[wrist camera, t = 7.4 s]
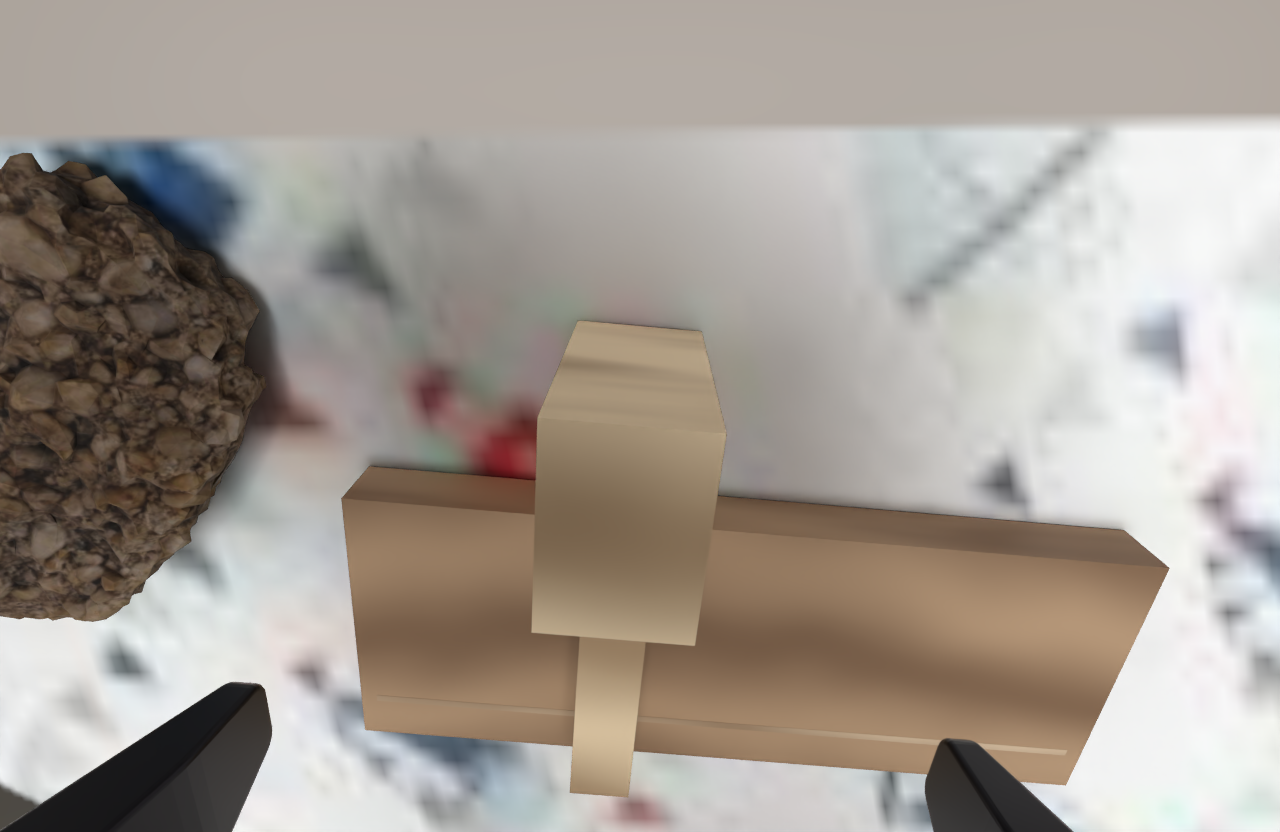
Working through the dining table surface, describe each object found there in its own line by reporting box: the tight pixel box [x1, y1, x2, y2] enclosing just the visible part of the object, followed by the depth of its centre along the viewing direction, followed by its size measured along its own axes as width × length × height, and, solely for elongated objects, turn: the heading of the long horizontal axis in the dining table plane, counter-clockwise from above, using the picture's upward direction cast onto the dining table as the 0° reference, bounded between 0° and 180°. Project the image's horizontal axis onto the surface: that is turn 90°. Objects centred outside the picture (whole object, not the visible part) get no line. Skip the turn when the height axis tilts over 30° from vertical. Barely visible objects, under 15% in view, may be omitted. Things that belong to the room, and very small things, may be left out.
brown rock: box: [0, 153, 266, 622], centre depth 18 cm, size 12×10×5 cm
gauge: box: [531, 321, 727, 797], centre depth 18 cm, size 14×4×7 cm, turn 175°
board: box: [341, 466, 1169, 785], centre depth 22 cm, size 9×24×2 cm, turn 85°
